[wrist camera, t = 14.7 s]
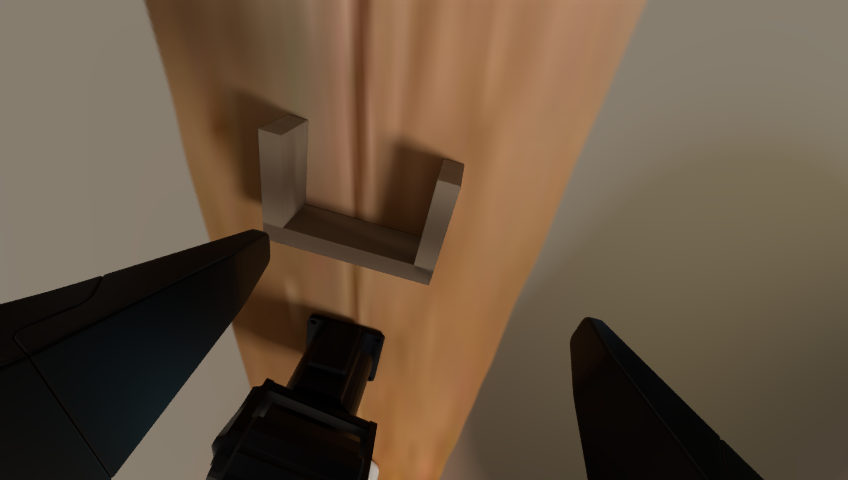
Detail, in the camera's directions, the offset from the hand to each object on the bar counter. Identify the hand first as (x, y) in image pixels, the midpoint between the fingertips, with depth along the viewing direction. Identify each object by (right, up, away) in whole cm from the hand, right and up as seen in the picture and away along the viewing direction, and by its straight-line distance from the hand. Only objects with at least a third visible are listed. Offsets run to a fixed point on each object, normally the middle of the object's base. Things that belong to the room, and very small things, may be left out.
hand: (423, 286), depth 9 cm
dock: (-4, +4, +12) cm, 13 cm away
